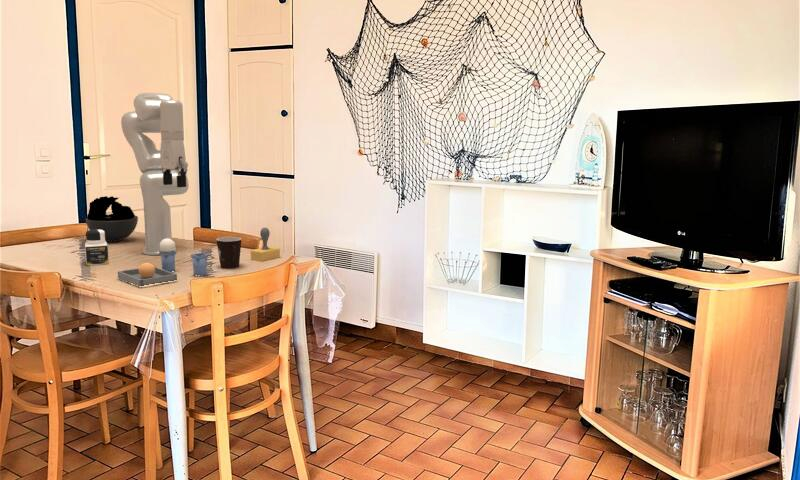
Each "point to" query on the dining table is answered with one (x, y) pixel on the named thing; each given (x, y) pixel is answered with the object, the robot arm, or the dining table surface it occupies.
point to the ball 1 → (146, 270)
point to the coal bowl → (111, 218)
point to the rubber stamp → (265, 249)
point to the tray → (136, 279)
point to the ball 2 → (167, 245)
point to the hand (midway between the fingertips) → (174, 185)
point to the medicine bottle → (96, 248)
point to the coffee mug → (229, 252)
